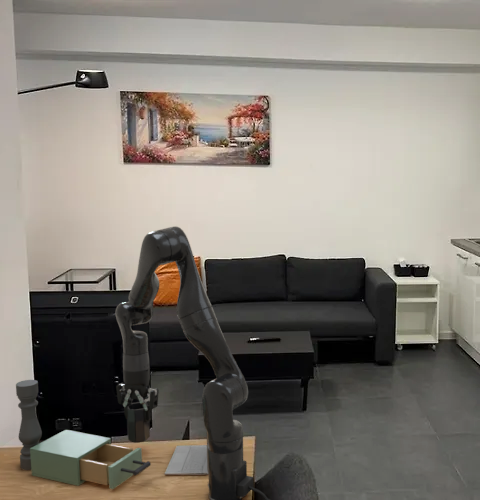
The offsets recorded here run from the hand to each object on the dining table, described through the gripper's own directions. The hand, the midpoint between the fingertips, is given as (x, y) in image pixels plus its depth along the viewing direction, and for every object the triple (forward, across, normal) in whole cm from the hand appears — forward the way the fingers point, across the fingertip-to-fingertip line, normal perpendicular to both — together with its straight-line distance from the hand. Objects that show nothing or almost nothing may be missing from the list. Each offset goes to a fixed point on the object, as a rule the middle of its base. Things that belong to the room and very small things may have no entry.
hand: (138, 419), depth 197 cm
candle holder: (+11, -24, -18) cm, 32 cm away
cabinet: (+11, -11, -16) cm, 22 cm away
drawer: (+10, +3, -16) cm, 19 cm away
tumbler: (+6, 0, 0) cm, 6 cm away
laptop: (+11, +18, +1) cm, 21 cm away
